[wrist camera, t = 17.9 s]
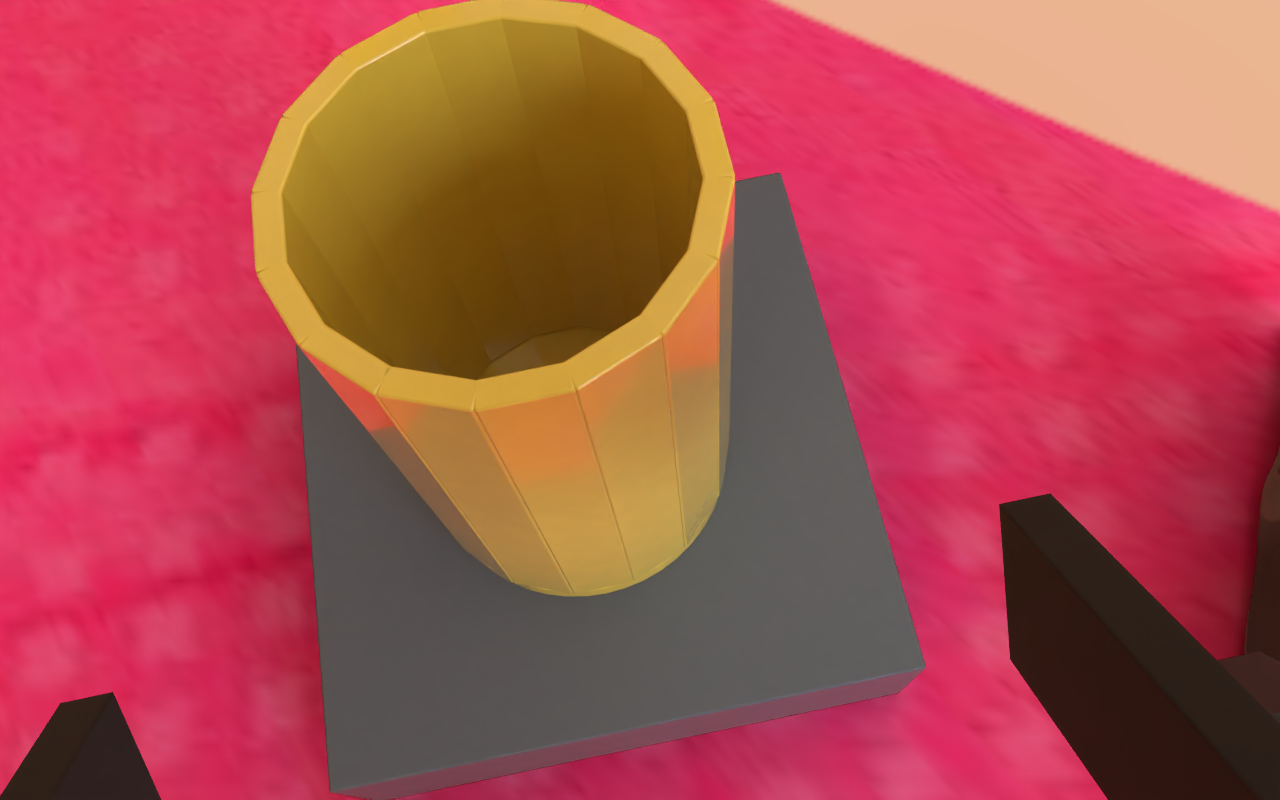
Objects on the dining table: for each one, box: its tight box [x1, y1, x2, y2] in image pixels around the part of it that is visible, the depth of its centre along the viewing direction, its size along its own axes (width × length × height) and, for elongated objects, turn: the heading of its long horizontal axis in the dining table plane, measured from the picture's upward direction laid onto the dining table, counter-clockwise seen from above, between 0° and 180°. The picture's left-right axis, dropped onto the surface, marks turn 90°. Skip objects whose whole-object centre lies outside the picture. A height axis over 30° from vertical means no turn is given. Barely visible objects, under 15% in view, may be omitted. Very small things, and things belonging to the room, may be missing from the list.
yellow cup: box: [251, 0, 735, 597], centre depth 22 cm, size 7×7×12 cm
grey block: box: [296, 173, 926, 800], centre depth 30 cm, size 14×14×4 cm
